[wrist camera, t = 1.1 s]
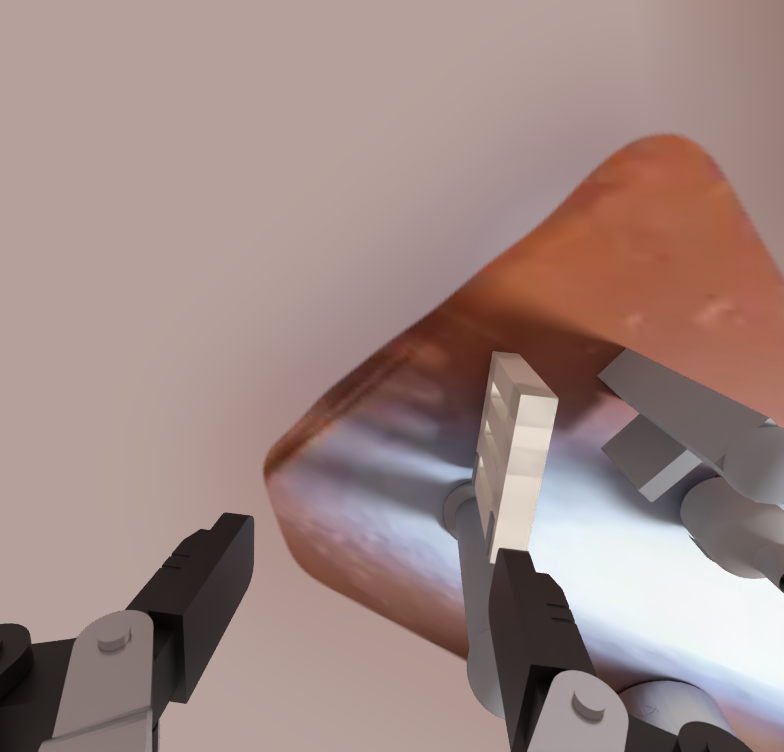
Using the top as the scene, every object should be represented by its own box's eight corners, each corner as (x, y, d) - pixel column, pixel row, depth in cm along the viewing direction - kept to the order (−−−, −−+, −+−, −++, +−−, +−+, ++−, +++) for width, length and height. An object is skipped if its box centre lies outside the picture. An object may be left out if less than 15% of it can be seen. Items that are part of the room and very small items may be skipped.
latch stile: (669, 383, 28) (881, 499, 15) (600, 444, 29) (739, 600, 16) (626, 343, 28) (806, 427, 15) (558, 407, 29) (666, 537, 16)
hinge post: (524, 510, 31) (599, 709, 18) (477, 552, 32) (514, 769, 19) (475, 469, 31) (513, 642, 17) (429, 513, 32) (431, 707, 18)
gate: (498, 479, 30) (525, 567, 22) (470, 476, 30) (487, 562, 22) (520, 354, 28) (561, 399, 19) (491, 350, 28) (518, 394, 19)
